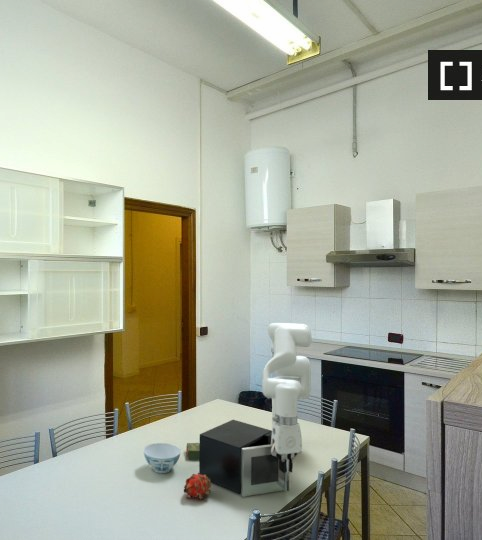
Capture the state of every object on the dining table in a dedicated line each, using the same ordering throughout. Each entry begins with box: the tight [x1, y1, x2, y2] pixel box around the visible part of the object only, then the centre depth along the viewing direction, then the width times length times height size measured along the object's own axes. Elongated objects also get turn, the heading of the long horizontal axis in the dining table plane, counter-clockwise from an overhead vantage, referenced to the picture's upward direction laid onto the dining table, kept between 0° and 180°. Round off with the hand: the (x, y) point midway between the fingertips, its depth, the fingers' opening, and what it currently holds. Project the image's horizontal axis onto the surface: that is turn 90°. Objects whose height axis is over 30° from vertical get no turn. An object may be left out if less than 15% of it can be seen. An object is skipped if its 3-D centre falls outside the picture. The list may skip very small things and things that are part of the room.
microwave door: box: [240, 444, 290, 498], centre depth 153 cm, size 7×18×17 cm, turn 107°
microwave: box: [198, 419, 272, 496], centre depth 168 cm, size 20×24×17 cm
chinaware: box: [143, 442, 182, 474], centre depth 174 cm, size 15×15×8 cm
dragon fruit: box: [183, 472, 212, 500], centre depth 153 cm, size 8×8×12 cm
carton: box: [185, 442, 200, 461], centre depth 187 cm, size 8×16×4 cm, turn 88°
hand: (285, 470), depth 153 cm, fingers closed, pressing on microwave door
